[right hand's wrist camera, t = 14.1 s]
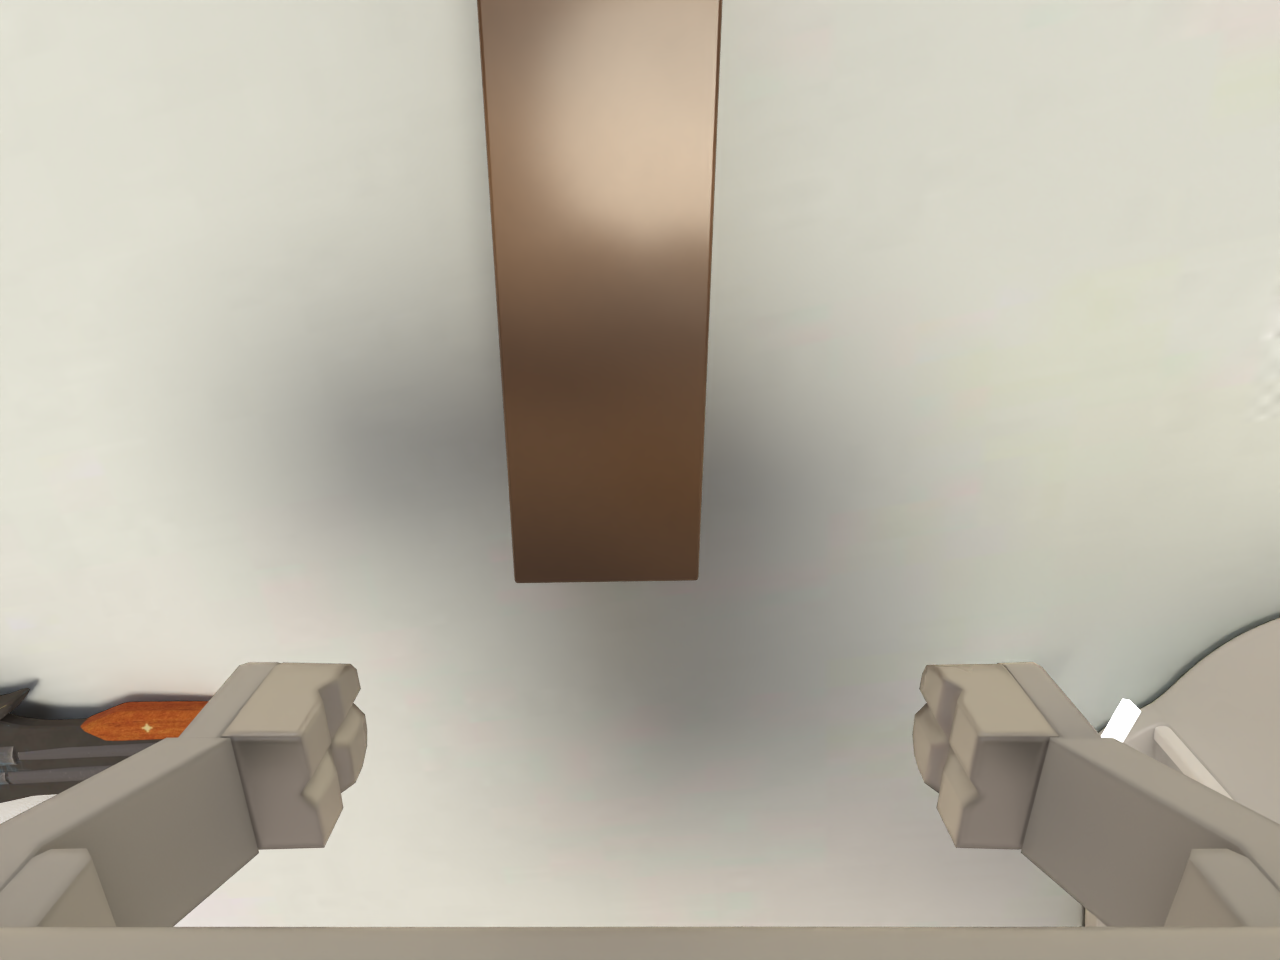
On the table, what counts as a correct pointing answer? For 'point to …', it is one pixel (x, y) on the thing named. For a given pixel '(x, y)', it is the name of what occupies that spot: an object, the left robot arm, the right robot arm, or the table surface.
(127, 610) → the table surface
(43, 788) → the toy gun
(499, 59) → the bar
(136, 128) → the table surface
